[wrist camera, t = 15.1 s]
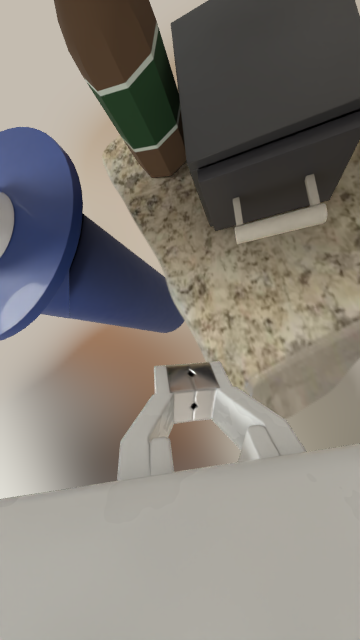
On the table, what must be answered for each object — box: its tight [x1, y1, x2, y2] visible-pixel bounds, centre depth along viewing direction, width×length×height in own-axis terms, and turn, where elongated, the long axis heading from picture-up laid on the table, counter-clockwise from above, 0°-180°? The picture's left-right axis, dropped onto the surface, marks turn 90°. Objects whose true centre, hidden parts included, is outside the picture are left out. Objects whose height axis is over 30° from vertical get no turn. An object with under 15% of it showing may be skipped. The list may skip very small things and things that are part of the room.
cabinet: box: [171, 0, 360, 227], centre depth 21 cm, size 15×13×10 cm
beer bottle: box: [54, 0, 187, 178], centre depth 18 cm, size 8×8×24 cm
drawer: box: [197, 111, 360, 244], centre depth 20 cm, size 18×11×8 cm, turn 6°
